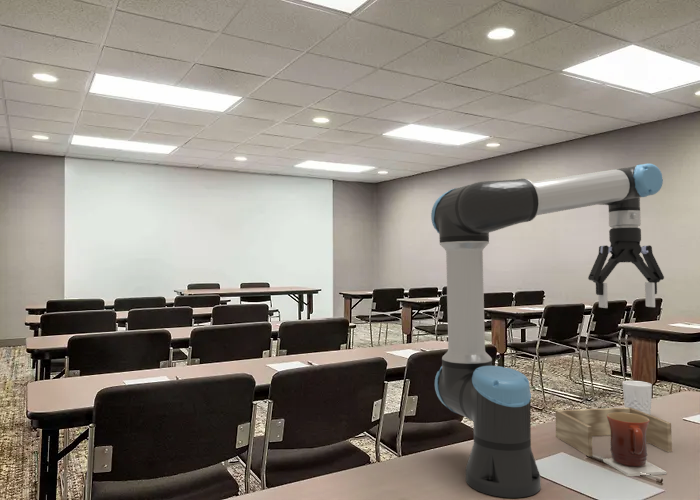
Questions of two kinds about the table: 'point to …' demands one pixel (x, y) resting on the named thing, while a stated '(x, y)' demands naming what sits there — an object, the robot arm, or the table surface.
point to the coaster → (636, 468)
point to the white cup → (638, 395)
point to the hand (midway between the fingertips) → (626, 307)
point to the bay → (605, 428)
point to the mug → (628, 438)
